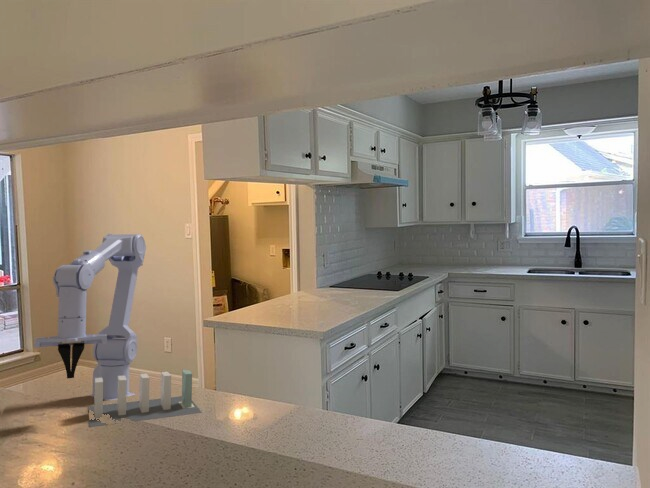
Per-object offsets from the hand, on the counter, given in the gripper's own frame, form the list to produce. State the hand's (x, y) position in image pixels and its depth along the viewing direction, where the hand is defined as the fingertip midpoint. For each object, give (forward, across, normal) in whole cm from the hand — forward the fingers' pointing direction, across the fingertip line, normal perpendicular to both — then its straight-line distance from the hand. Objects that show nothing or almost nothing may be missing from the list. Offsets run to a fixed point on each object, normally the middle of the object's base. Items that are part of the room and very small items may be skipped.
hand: (70, 377), depth 112 cm
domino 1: (+9, +6, 0) cm, 11 cm away
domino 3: (+9, +16, 0) cm, 18 cm away
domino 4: (+9, +21, 0) cm, 23 cm away
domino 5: (+9, +26, 0) cm, 27 cm away
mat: (+10, +16, 0) cm, 19 cm away
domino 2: (+9, +11, 0) cm, 14 cm away
